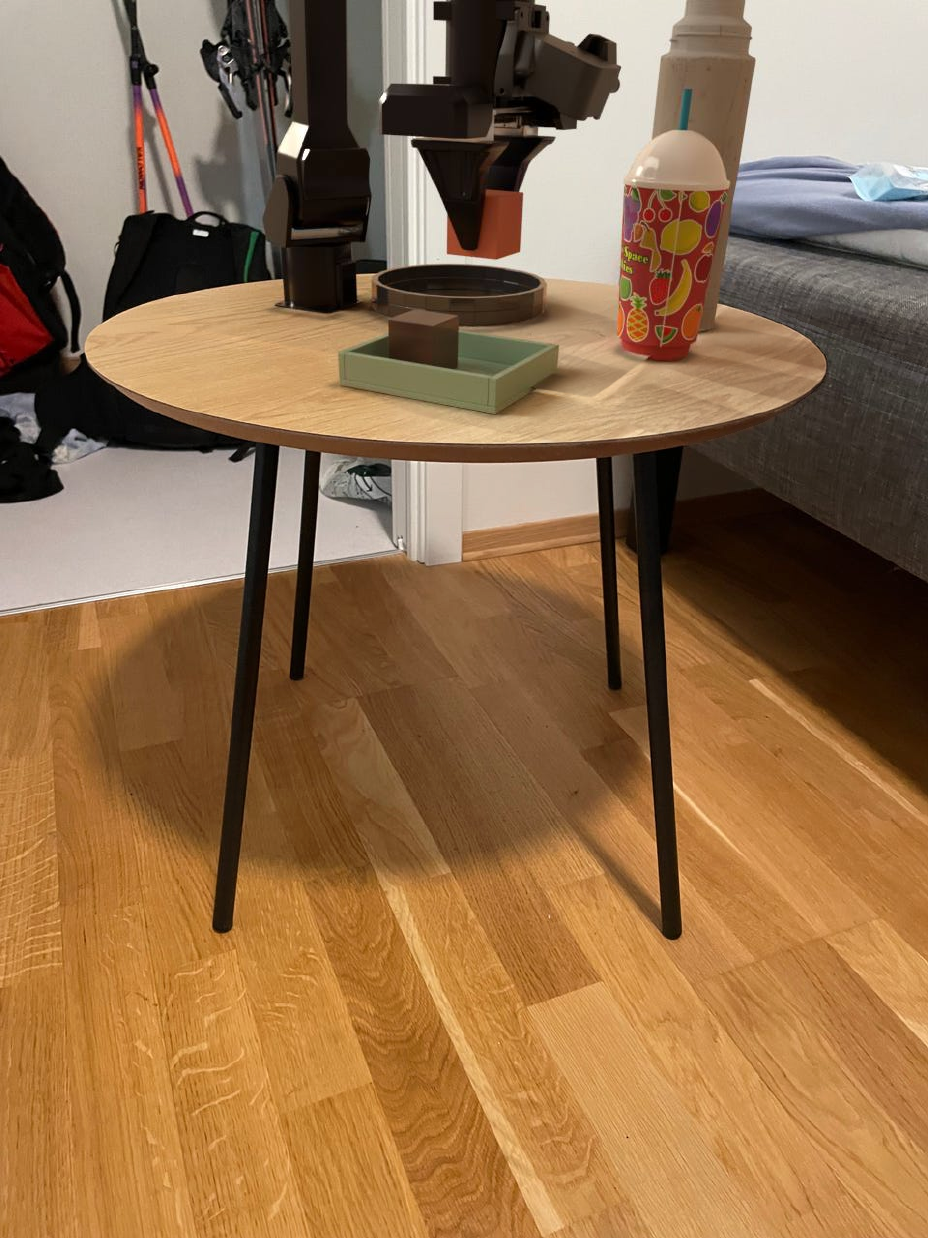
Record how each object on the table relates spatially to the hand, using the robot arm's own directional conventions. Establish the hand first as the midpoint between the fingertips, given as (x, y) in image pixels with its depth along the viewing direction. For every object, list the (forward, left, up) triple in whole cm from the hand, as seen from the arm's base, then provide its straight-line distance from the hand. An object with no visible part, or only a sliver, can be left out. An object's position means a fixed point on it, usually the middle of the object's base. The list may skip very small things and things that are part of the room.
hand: (482, 245), depth 67 cm
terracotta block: (0, 0, 0) cm, 1 cm away
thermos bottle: (+7, +28, -10) cm, 31 cm away
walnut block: (-5, -1, -9) cm, 10 cm away
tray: (-2, -1, -10) cm, 10 cm away
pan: (-13, +21, -10) cm, 27 cm away
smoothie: (+9, +16, -10) cm, 21 cm away
